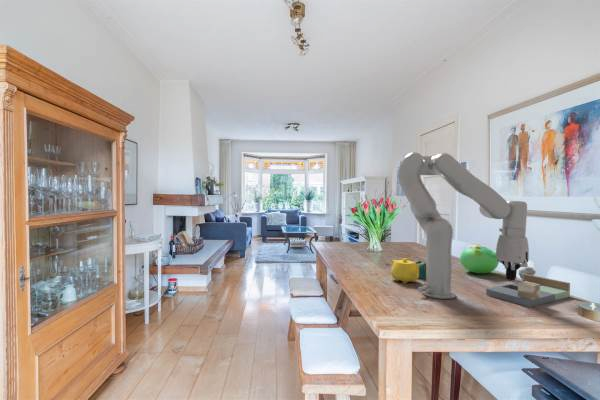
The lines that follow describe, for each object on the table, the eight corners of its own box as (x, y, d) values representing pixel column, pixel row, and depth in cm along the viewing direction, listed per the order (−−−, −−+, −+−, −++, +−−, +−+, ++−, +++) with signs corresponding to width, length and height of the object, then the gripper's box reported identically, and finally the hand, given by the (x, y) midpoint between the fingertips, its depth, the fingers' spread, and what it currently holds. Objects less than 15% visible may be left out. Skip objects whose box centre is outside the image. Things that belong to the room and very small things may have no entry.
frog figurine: (530, 283, 142) (530, 268, 142) (515, 279, 149) (515, 265, 149) (538, 282, 144) (538, 267, 144) (523, 278, 151) (523, 264, 151)
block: (532, 299, 112) (532, 286, 112) (517, 295, 116) (517, 282, 116) (540, 297, 114) (540, 284, 114) (525, 294, 119) (525, 281, 119)
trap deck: (529, 307, 111) (529, 292, 111) (486, 294, 126) (486, 281, 125) (569, 296, 123) (569, 282, 123) (526, 286, 138) (526, 274, 138)
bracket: (421, 279, 151) (421, 263, 150) (411, 276, 157) (411, 260, 157) (447, 275, 158) (447, 260, 158) (437, 272, 164) (437, 258, 164)
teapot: (429, 284, 141) (429, 261, 141) (412, 287, 136) (412, 263, 136) (400, 275, 157) (400, 254, 157) (383, 278, 152) (383, 256, 152)
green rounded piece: (485, 269, 171) (485, 242, 171) (507, 276, 155) (507, 247, 154) (454, 269, 170) (454, 243, 170) (473, 277, 153) (473, 248, 153)
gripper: (488, 230, 125) (485, 275, 125) (529, 235, 111) (526, 285, 112) (499, 230, 128) (497, 274, 128) (540, 235, 114) (537, 284, 115)
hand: (510, 279), depth 120 cm, fingers closed
